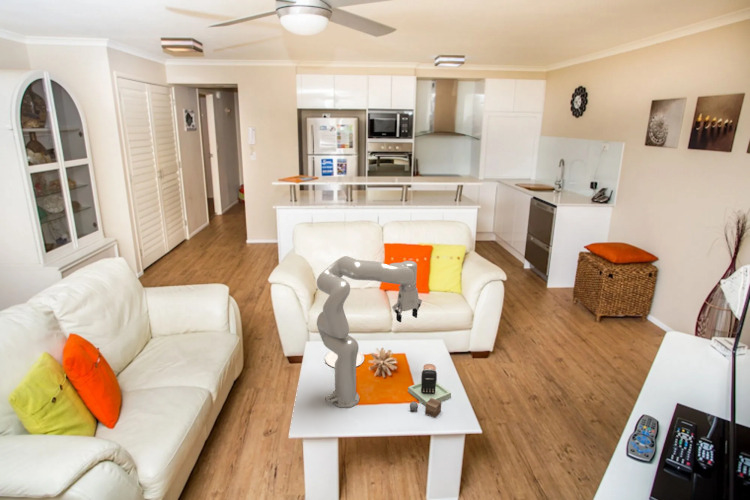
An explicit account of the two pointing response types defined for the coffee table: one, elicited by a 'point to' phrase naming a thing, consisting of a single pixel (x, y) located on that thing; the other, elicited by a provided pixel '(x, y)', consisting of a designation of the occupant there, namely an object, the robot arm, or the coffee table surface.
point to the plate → (333, 357)
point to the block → (433, 407)
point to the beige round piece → (429, 366)
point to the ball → (413, 405)
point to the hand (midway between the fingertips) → (406, 319)
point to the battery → (428, 381)
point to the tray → (439, 394)
